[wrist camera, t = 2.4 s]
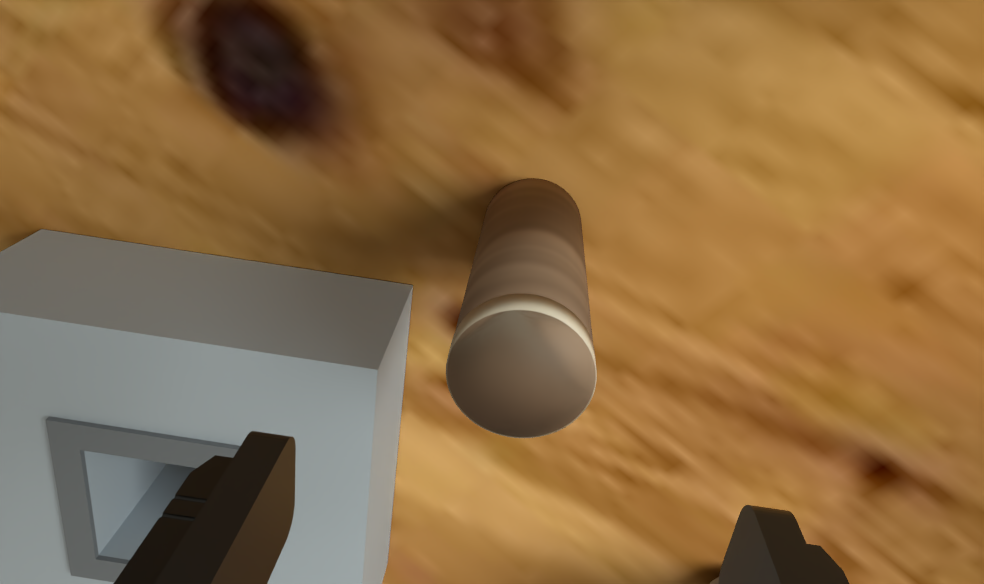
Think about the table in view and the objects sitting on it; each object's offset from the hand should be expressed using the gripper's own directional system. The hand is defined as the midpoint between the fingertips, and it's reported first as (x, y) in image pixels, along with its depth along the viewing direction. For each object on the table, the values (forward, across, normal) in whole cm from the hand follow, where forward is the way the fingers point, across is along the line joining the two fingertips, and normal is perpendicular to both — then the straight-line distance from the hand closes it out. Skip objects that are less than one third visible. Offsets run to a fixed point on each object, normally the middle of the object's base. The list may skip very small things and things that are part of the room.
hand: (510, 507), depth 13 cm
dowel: (+14, 0, 0) cm, 14 cm away
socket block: (+14, +11, +10) cm, 20 cm away
